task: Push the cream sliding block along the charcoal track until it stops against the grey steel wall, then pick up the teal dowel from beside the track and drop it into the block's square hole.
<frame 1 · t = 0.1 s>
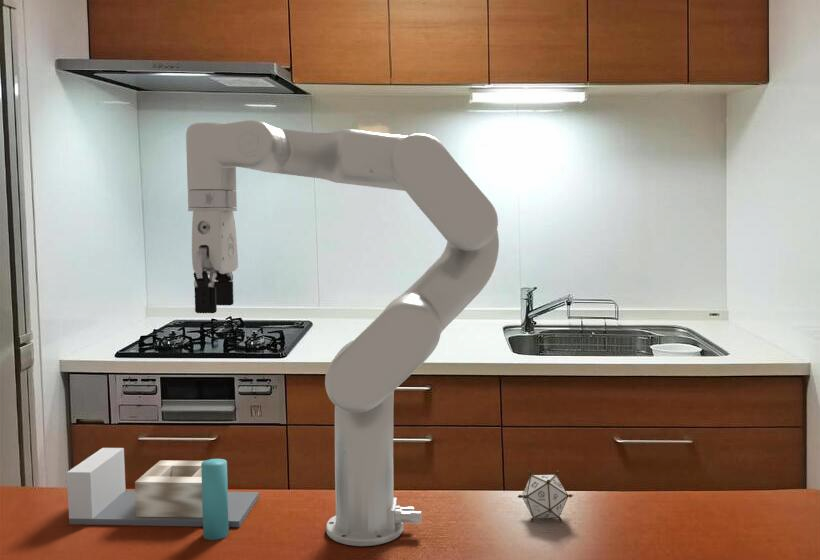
hand: (215, 308, 121), 37 cm above the countertop, tool pointing down, fingers open, 9 cm apart
track: (168, 510, 131), on the countertop
block: (182, 487, 131), point 4 cm above the countertop, slide at -7.0 cm
game die: (544, 520, 127), on the countertop
dowel: (216, 534, 121), on the countertop
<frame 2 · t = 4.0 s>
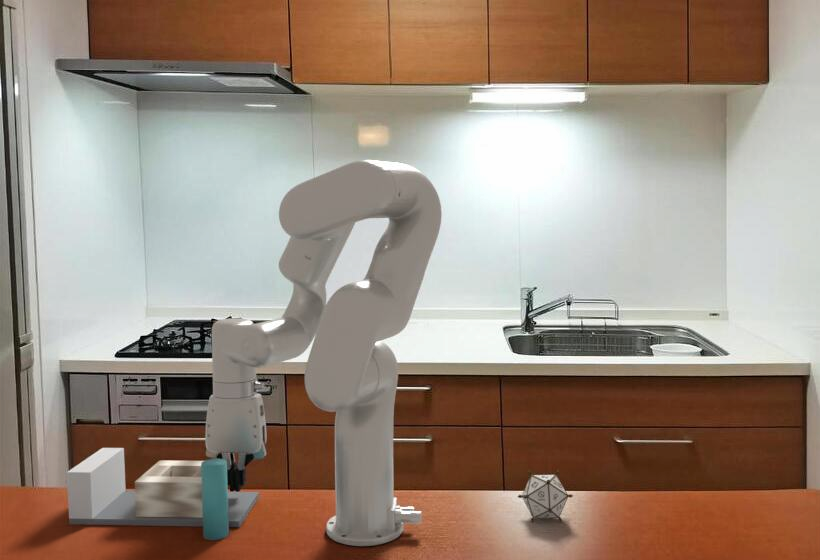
hand: (236, 488, 134), 3 cm above the countertop, tool pointing down, fingers closed
block: (181, 487, 131), point 4 cm above the countertop, slide at -6.9 cm, touching gripper
everything else where it was.
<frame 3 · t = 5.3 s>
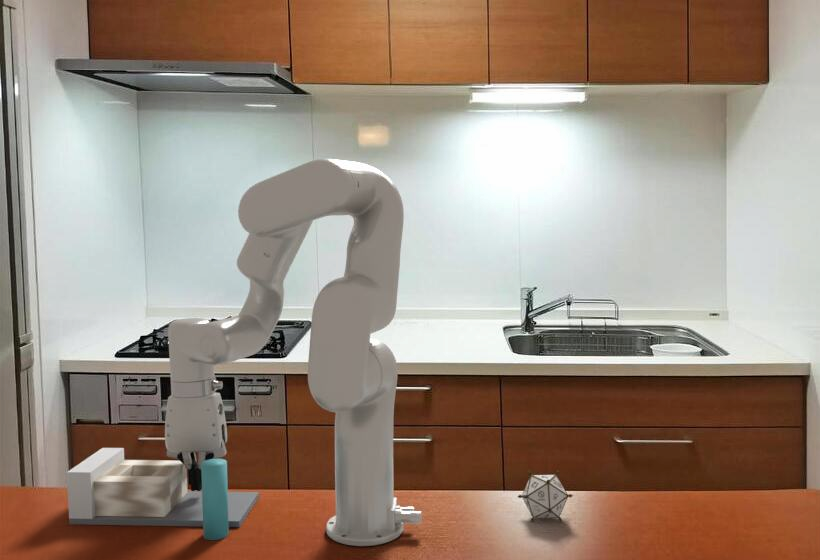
hand: (198, 488, 135), 3 cm above the countertop, tool pointing down, fingers closed
block: (142, 487, 131), point 4 cm above the countertop, slide at 0.1 cm, touching gripper, track
everything else where it was.
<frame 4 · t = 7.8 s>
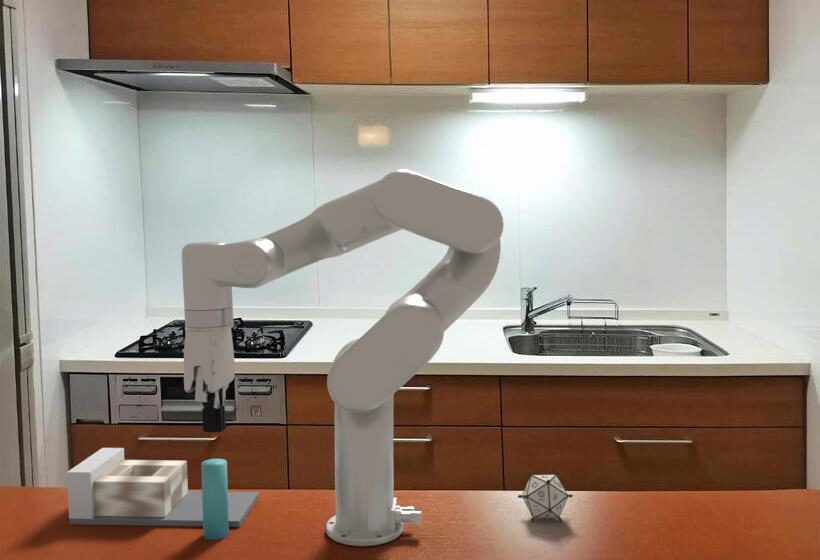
hand: (214, 430, 122), 17 cm above the countertop, tool pointing down, fingers closed
block: (142, 487, 131), point 4 cm above the countertop, slide at 0.0 cm
everything else where it was.
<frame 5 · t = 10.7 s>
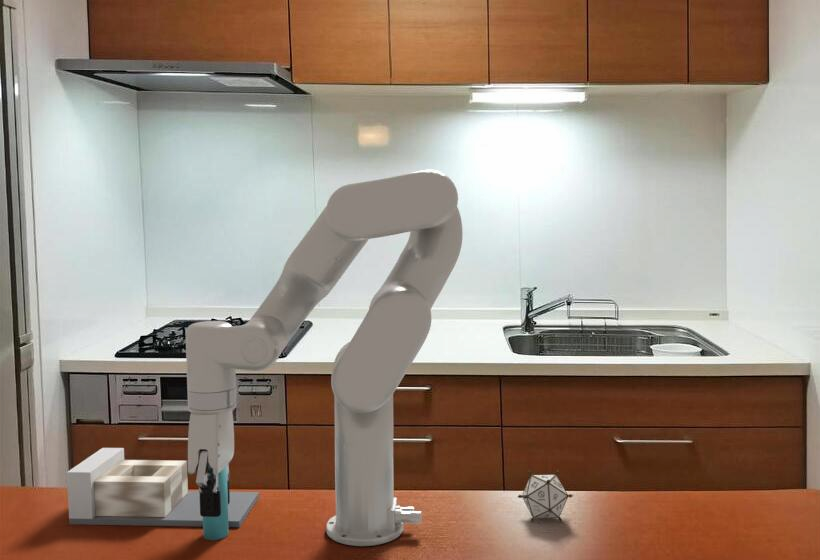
hand: (215, 508, 121), 4 cm above the countertop, tool pointing down, fingers closed on dowel, 4 cm apart
dowel: (216, 534, 121), on the countertop, touching gripper
everything else where it was.
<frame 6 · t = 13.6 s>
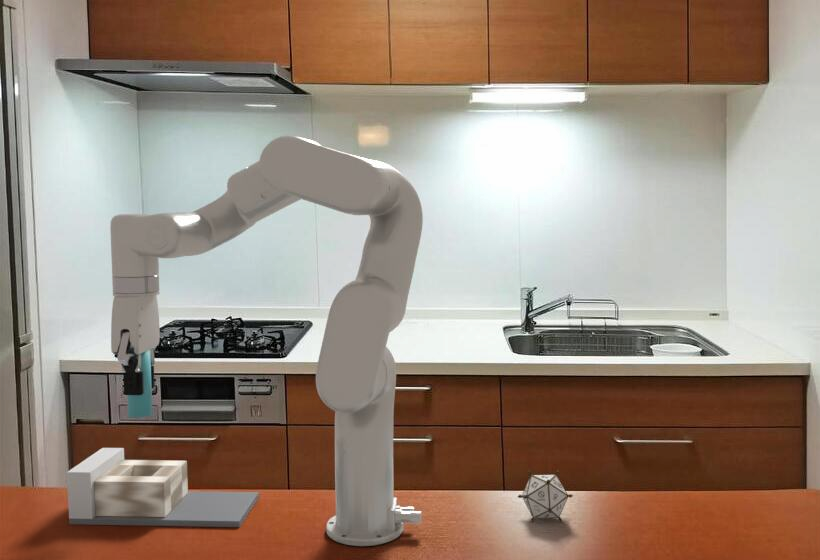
hand: (139, 390, 130), 21 cm above the countertop, tool pointing down, fingers closed on dowel, 4 cm apart
dowel: (140, 414, 130), point 17 cm above the countertop, touching gripper
everything else where it was.
when the fingers open (8 cm above the countertop, at t = 16.5 s): dowel drops 2 cm, resting on track.
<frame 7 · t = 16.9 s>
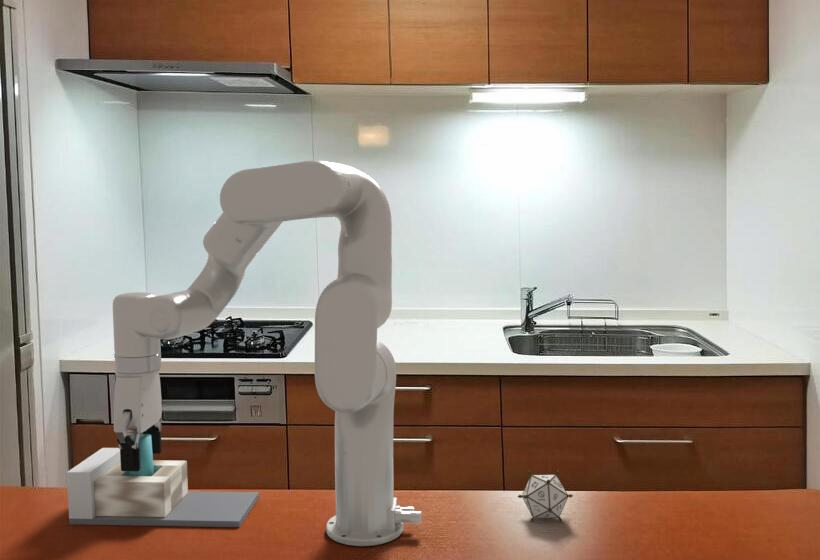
hand: (142, 461, 131), 9 cm above the countertop, tool pointing down, fingers open, 8 cm apart
dowel: (143, 503, 132), point 1 cm above the countertop, touching track
everything else where it was.
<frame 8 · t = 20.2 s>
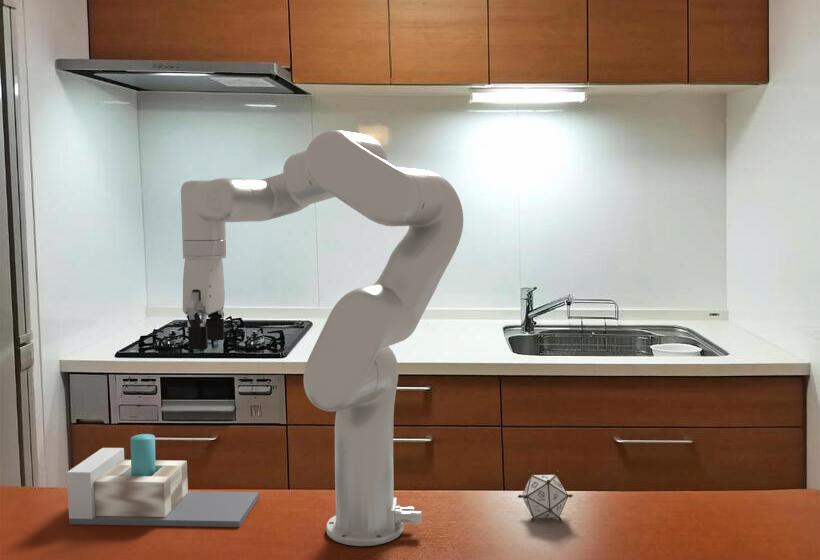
hand: (207, 344, 136), 28 cm above the countertop, tool pointing down, fingers open, 9 cm apart
nothing on the countertop moved.
at the end: block slide at 0.0 cm; dowel 0.1 cm off-centre on the block, point 1.0 cm above the block's base; dowel tilted 1° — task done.
